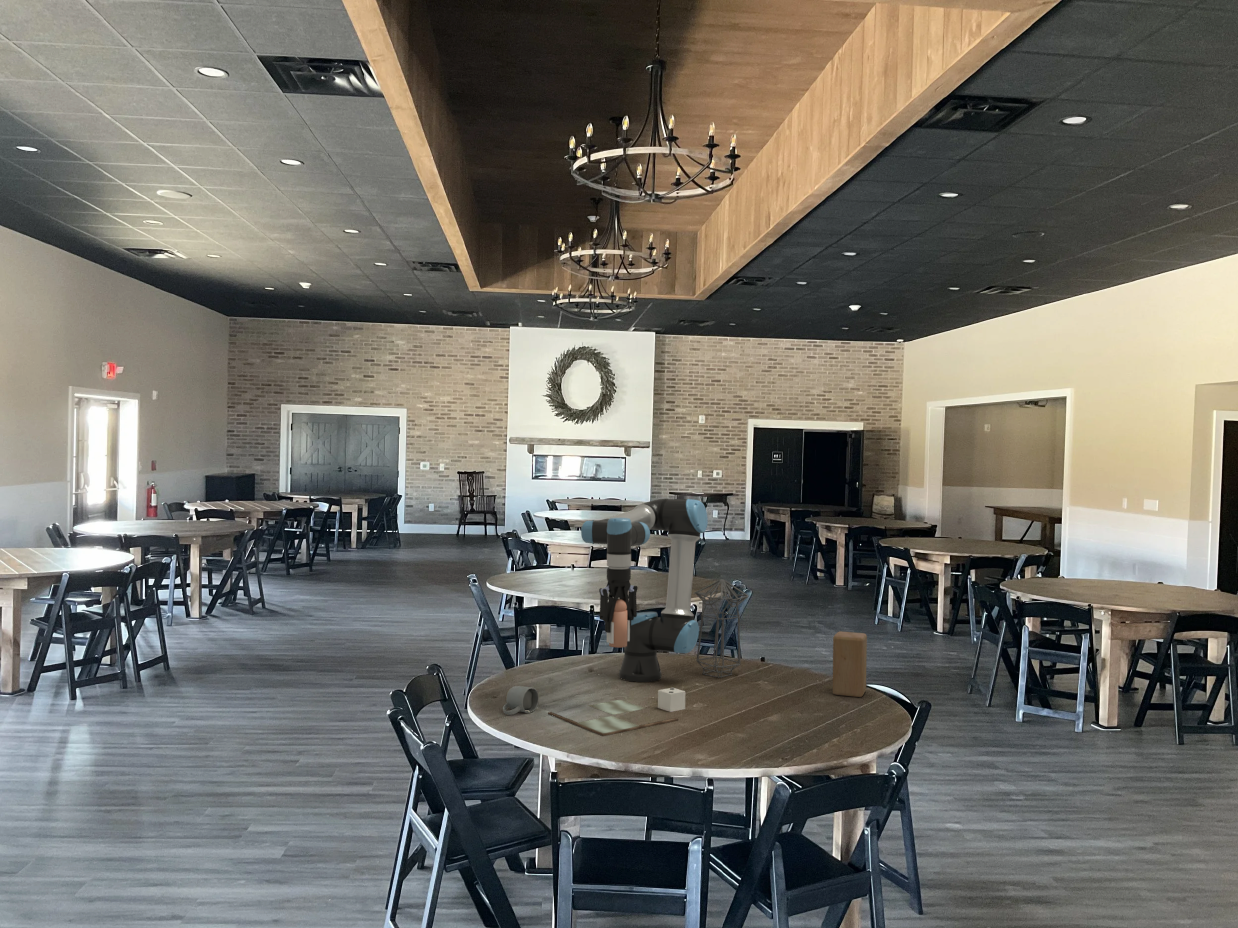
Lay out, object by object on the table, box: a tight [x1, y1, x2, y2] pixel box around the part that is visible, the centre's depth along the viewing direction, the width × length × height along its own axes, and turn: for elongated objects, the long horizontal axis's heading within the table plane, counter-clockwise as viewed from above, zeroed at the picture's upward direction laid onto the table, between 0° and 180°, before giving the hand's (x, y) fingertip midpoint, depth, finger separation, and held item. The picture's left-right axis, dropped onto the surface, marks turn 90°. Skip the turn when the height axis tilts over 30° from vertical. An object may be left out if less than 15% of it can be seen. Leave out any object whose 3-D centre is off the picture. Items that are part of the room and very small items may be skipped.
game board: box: [547, 699, 679, 737], centre depth 279 cm, size 28×28×1 cm
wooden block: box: [832, 630, 868, 698], centre depth 314 cm, size 10×10×20 cm
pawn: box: [608, 598, 627, 648], centre depth 289 cm, size 6×6×15 cm
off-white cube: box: [657, 687, 686, 713], centre depth 288 cm, size 6×6×6 cm
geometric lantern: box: [693, 578, 749, 679], centre depth 339 cm, size 16×16×35 cm
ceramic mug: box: [502, 685, 540, 716], centre depth 284 cm, size 11×8×8 cm
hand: (618, 641), depth 289 cm, fingers closed on pawn, 5 cm apart
